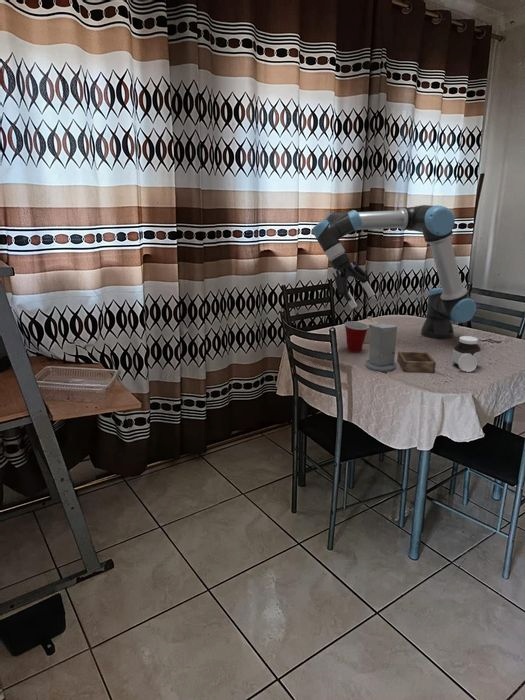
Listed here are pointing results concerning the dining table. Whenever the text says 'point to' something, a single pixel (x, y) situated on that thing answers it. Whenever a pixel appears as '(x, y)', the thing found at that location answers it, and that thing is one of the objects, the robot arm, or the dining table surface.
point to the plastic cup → (355, 335)
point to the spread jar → (466, 353)
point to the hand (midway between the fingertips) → (363, 301)
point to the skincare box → (382, 344)
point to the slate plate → (382, 368)
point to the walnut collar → (416, 362)
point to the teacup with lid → (368, 333)
